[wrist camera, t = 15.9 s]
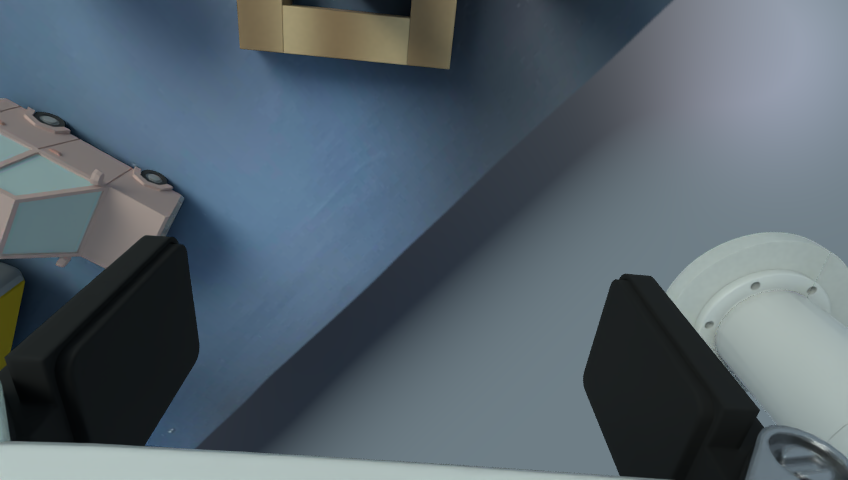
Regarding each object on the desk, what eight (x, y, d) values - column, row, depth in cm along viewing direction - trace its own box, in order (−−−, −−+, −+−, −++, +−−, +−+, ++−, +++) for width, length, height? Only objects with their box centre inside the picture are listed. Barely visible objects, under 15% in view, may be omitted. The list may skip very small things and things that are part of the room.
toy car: (161, 264, 45) (97, 331, 36) (-15, 174, 41) (-136, 225, 32) (202, 183, 42) (143, 236, 33) (14, 77, 38) (-113, 103, 29)
